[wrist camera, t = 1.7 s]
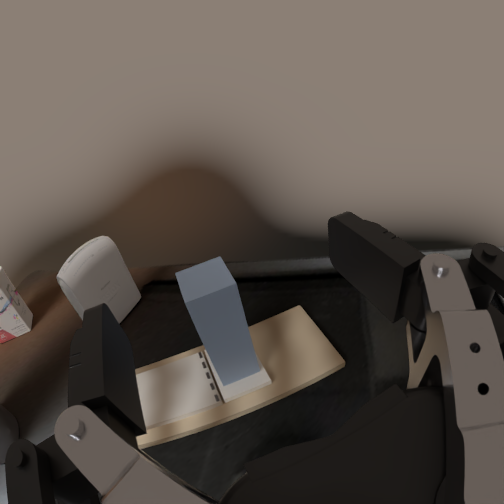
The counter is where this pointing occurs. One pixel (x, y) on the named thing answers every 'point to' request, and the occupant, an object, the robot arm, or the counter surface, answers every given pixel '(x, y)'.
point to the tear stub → (222, 328)
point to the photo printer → (98, 279)
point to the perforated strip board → (206, 388)
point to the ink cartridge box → (12, 311)
